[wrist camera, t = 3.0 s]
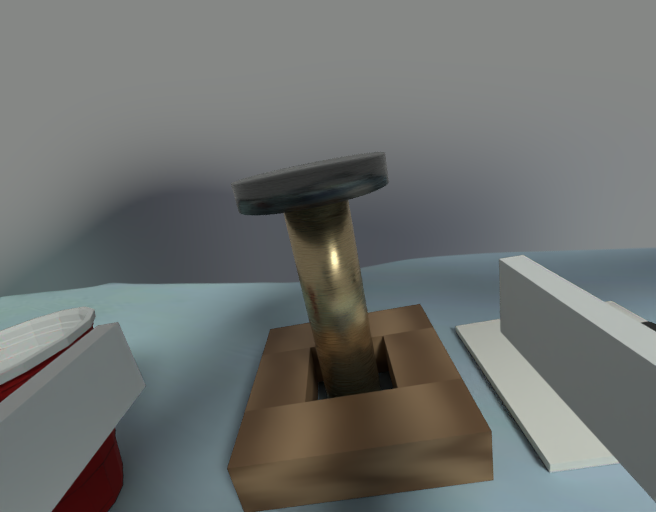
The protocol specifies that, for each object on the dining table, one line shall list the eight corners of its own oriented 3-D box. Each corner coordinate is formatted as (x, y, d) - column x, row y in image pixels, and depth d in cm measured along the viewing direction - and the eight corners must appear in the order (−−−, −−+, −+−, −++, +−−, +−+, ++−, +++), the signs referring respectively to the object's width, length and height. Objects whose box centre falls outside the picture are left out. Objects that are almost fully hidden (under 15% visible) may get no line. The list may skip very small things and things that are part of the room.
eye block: (423, 336, 31) (420, 304, 30) (493, 480, 18) (491, 431, 17) (279, 360, 32) (270, 329, 31) (244, 512, 19) (227, 468, 18)
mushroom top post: (403, 357, 29) (374, 150, 23) (433, 446, 21) (399, 155, 15) (302, 373, 30) (250, 174, 24) (292, 466, 21) (207, 193, 16)
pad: (611, 306, 30) (611, 300, 30) (830, 435, 17) (833, 426, 17) (455, 331, 31) (455, 326, 31) (550, 472, 18) (550, 464, 18)
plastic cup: (107, 421, 29) (42, 297, 25) (195, 454, 24) (130, 305, 20) (-72, 564, 20) (-216, 405, 16) (8, 666, 15) (-176, 469, 11)
